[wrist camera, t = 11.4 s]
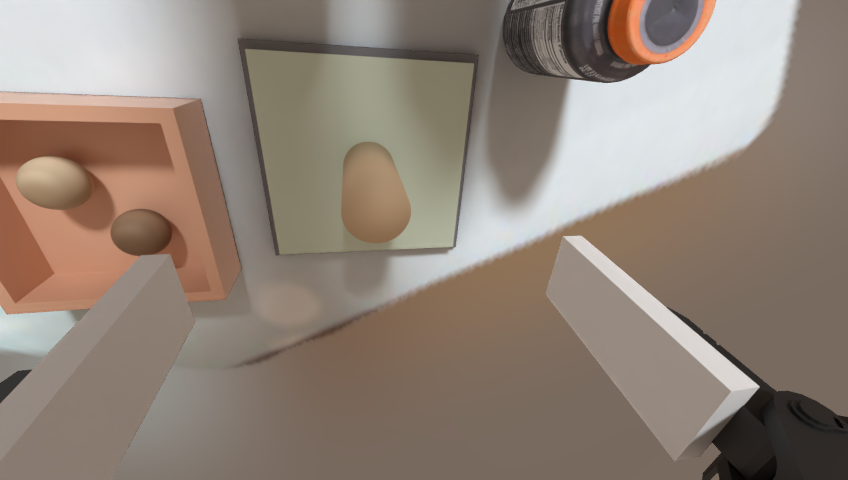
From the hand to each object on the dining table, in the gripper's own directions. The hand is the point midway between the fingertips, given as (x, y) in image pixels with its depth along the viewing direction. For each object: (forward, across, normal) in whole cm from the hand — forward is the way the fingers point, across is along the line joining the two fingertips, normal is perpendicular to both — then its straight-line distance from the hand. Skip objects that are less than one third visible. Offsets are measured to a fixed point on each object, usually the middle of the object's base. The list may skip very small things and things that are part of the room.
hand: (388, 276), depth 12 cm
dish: (+16, -17, -3) cm, 23 cm away
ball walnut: (+14, -15, -5) cm, 21 cm away
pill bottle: (+16, +12, +9) cm, 22 cm away
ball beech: (+14, -19, -2) cm, 23 cm away
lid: (+15, 0, -1) cm, 15 cm away
